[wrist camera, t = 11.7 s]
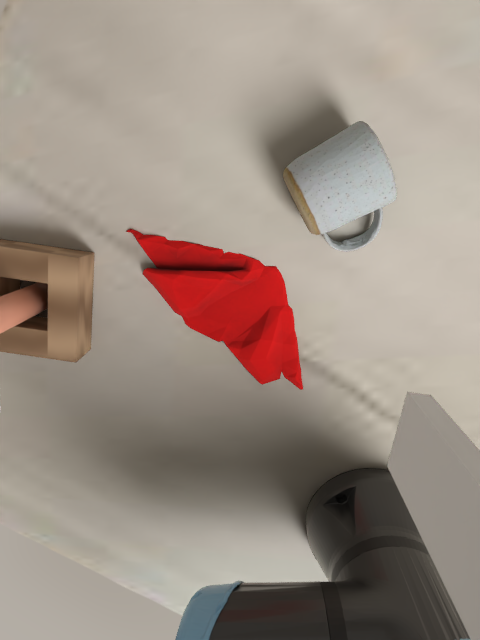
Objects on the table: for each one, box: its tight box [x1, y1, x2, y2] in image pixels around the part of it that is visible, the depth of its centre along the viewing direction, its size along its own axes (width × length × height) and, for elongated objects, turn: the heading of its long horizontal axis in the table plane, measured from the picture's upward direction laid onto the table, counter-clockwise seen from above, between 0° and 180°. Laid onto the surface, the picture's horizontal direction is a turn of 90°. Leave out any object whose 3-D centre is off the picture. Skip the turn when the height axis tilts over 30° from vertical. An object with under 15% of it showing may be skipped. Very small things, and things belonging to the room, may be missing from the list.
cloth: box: [126, 229, 303, 390], centre depth 45 cm, size 26×14×2 cm, turn 35°
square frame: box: [0, 239, 94, 362], centre depth 44 cm, size 11×11×4 cm
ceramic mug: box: [283, 121, 397, 252], centre depth 38 cm, size 11×8×8 cm
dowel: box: [0, 282, 48, 334], centre depth 39 cm, size 3×3×14 cm
